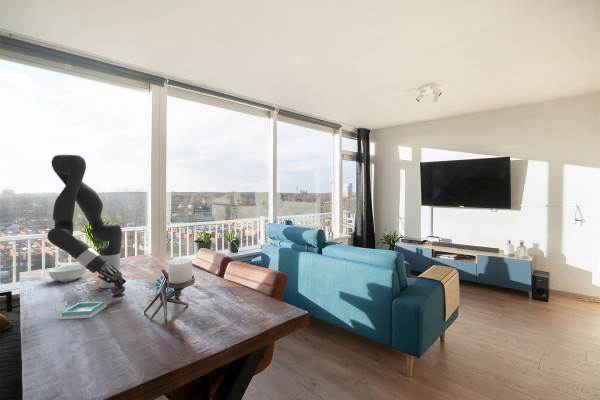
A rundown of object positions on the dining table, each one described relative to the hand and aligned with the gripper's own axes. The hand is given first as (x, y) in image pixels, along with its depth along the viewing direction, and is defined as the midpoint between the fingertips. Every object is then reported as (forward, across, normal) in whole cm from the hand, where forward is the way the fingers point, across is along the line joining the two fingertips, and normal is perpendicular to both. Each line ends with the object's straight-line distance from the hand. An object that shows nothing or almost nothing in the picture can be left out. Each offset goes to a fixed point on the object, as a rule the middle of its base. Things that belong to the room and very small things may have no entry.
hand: (123, 284), depth 132 cm
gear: (+18, +8, -7) cm, 21 cm away
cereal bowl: (-22, +47, +35) cm, 62 cm away
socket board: (-3, -10, +14) cm, 17 cm away
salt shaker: (+2, 0, +5) cm, 6 cm away
